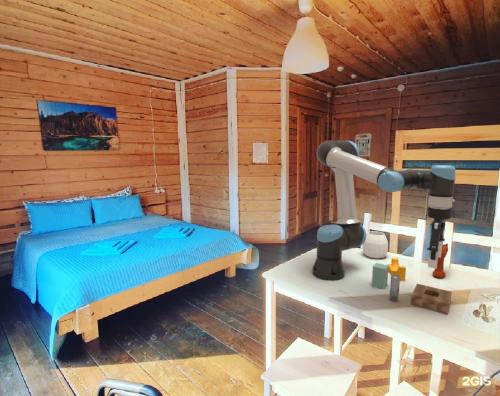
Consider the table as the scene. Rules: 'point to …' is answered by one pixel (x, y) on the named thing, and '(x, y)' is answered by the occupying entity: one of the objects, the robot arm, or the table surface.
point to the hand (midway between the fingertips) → (434, 262)
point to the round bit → (394, 287)
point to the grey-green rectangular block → (380, 275)
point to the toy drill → (441, 262)
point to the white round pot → (375, 245)
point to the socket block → (431, 298)
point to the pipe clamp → (397, 269)
